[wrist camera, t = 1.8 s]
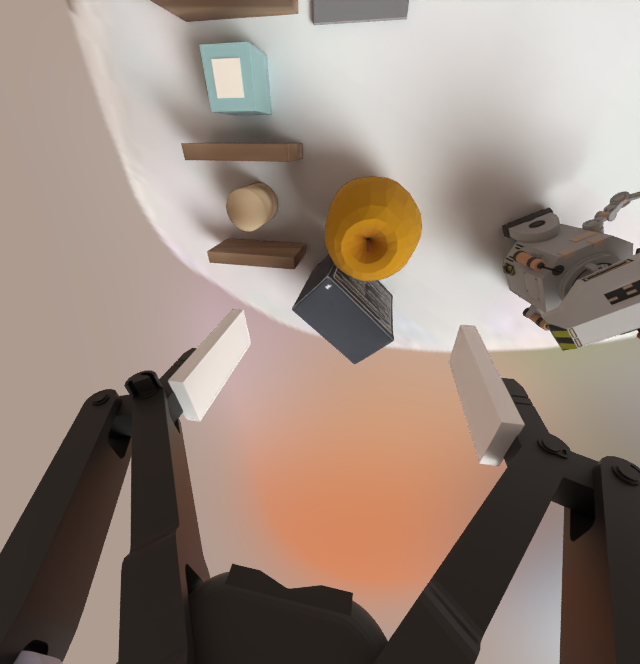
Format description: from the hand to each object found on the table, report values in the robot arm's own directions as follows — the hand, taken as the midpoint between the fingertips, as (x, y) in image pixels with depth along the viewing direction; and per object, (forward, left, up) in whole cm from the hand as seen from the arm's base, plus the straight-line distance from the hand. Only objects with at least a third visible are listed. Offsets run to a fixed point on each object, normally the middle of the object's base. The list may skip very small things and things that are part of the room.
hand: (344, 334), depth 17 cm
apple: (-2, +1, -22) cm, 22 cm away
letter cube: (-14, -13, -22) cm, 29 cm away
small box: (+7, -1, -22) cm, 23 cm away
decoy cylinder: (-3, -13, -21) cm, 25 cm away
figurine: (0, +21, -22) cm, 30 cm away
